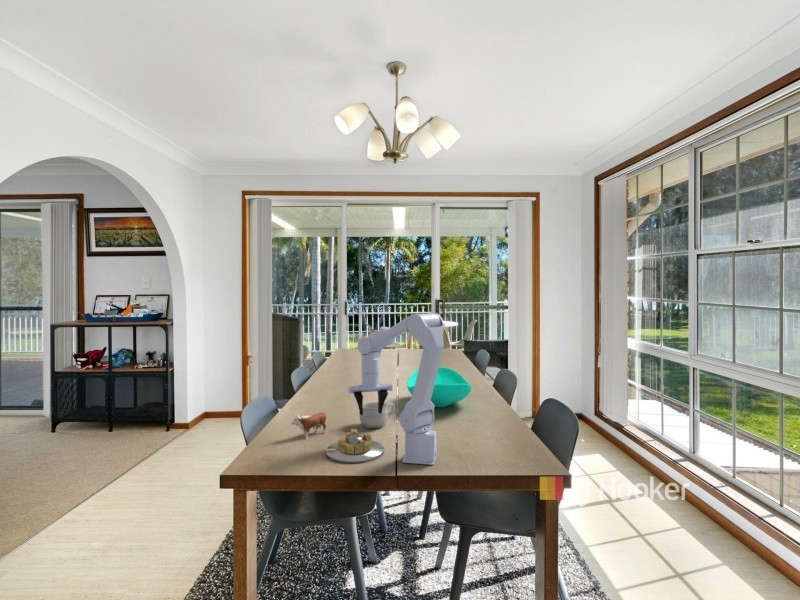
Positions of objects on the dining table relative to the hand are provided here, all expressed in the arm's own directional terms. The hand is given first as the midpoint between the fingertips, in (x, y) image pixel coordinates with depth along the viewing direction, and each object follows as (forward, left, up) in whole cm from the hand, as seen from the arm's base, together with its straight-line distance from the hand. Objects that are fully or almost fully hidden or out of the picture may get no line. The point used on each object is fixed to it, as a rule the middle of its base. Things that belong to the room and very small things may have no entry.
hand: (370, 413), depth 152 cm
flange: (+3, +9, -10) cm, 14 cm away
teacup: (+3, -19, -10) cm, 22 cm away
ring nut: (+3, +7, -8) cm, 11 cm away
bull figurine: (+23, -3, -10) cm, 25 cm away
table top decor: (-16, -52, -10) cm, 56 cm away
